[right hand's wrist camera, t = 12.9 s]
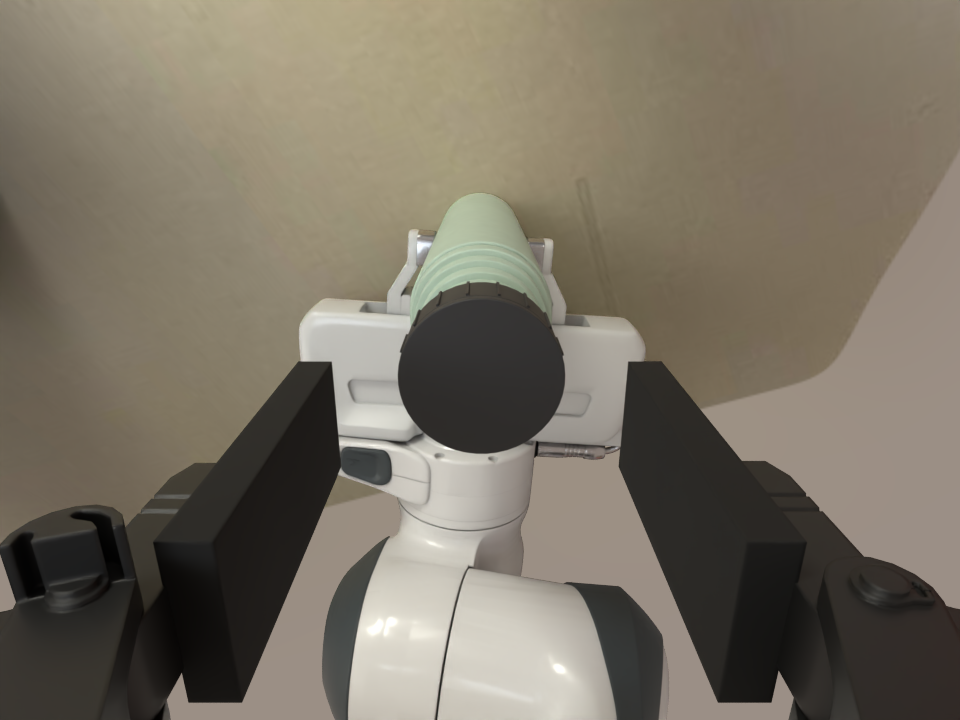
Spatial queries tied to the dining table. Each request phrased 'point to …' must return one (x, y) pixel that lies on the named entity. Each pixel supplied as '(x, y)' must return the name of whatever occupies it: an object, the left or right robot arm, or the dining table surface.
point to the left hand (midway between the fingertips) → (480, 234)
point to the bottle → (480, 253)
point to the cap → (481, 368)
